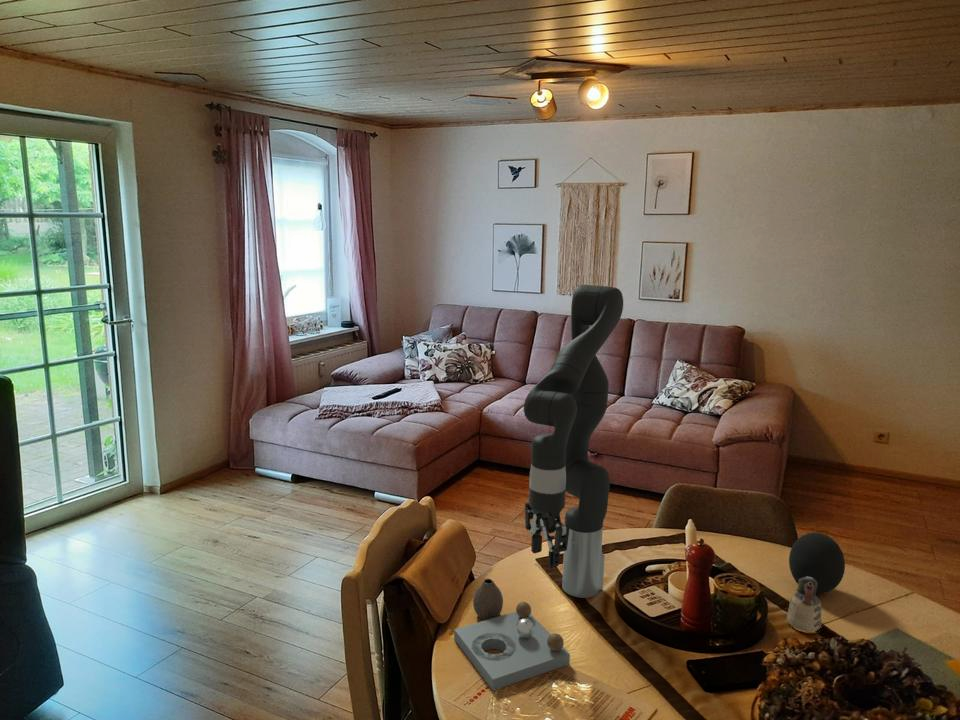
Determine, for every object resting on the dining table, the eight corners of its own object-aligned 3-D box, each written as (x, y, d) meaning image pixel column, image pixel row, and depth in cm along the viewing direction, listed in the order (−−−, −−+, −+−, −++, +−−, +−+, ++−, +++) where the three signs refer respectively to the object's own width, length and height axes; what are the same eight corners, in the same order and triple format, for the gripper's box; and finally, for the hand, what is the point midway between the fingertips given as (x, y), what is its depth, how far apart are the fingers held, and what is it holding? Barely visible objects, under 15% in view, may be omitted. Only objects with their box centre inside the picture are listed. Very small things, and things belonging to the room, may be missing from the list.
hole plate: (525, 618, 155) (525, 608, 155) (569, 664, 140) (569, 653, 139) (454, 639, 147) (454, 629, 147) (492, 690, 132) (492, 679, 131)
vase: (499, 626, 152) (500, 591, 151) (470, 622, 154) (470, 587, 152) (504, 609, 159) (505, 575, 157) (476, 605, 160) (476, 571, 158)
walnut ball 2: (557, 642, 143) (558, 628, 142) (566, 651, 140) (567, 637, 139) (543, 647, 141) (544, 632, 140) (552, 656, 138) (553, 641, 137)
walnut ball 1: (526, 610, 154) (526, 597, 153) (533, 618, 151) (534, 605, 150) (513, 614, 152) (513, 601, 152) (520, 622, 149) (521, 608, 149)
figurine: (821, 621, 155) (827, 574, 153) (820, 638, 149) (826, 589, 147) (787, 613, 159) (793, 566, 156) (785, 628, 153) (790, 580, 150)
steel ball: (528, 629, 147) (528, 612, 146) (537, 639, 144) (538, 622, 143) (512, 634, 145) (512, 617, 145) (521, 644, 142) (521, 627, 141)
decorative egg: (794, 601, 163) (800, 544, 160) (780, 575, 175) (786, 521, 172) (848, 606, 162) (856, 549, 158) (830, 579, 173) (838, 525, 170)
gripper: (582, 494, 135) (578, 571, 138) (544, 470, 147) (541, 541, 151) (550, 501, 131) (547, 579, 135) (514, 475, 144) (512, 547, 147)
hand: (544, 558), depth 143 cm, fingers open, 6 cm apart
